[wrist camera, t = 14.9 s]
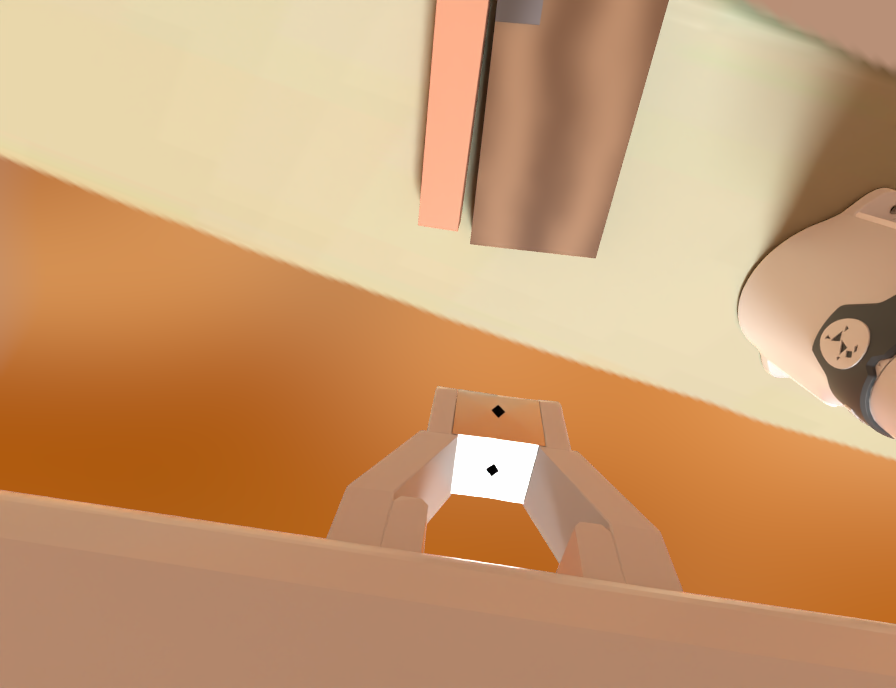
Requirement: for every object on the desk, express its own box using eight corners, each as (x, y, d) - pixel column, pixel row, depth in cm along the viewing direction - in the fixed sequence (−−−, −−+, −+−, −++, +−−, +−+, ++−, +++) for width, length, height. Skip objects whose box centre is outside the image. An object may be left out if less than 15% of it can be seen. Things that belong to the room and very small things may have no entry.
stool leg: (447, -42, 29) (441, -62, 25) (495, -35, 29) (495, -55, 25) (424, 215, 38) (417, 226, 35) (460, 220, 38) (457, 232, 35)
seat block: (659, -28, 28) (683, -47, 24) (586, 244, 38) (596, 259, 34) (503, -40, 29) (504, -61, 25) (472, 231, 39) (469, 245, 35)
